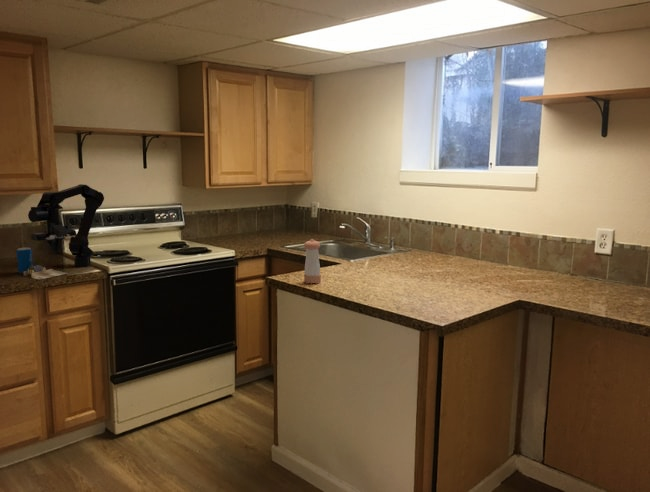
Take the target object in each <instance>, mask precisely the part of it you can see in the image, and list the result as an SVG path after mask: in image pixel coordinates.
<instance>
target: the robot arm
mask: <svg viewBox="0 0 650 492" xmlns="http://www.w3.org/2000/svg"><path fill="white" fill-rule="evenodd" d="M79 195H81V197H82V198H83V199H84V205H85V208H84V212H83V215H82V219H81V221H80V223H79V227H78V229H77V231H76V230H75V229H74V228H73V229H72V226H71V225H70V224H66V225H63V222H62V221H61V220H60V210H63V209H64V207H62V206H61V205H60V204H62V203H63V202H64V200H67V199H70V198H73V197H75V196H79ZM104 200H105V196H104V194H103V193H102V192H101V191H98V190H97V189H94V188H92V187H90V186H89V185H87V184H77V185H74V186H71V187H68V188H64V189H61V190H58V191H46V192H43V193H42V195H41V198H40V200H39V202H38V203H37V206H31V207H30V210H29V211H28V214H27V216H28V217H27V218H28V219H29V221H30V222H31V223H38V222H44V225H46V230H45V232H35V233H32V234H31V235H30V237H31V238H30V240H31V241H37V242H41V241H46V242H47V243H48V245H49V246H50V248H51V250H52V251H53V253H54V254H58V251H59V248H60V245H61V242H63V240H64V239H65V238H66V237H68V236H69V237H70V238H69V239H70V240H69V243H68V244H67V245H68V250H69V251H70V254H71V255H72V256H74V260H73V261H74V268H77V269H79V268H80V269H81V268H87V267H88V268H89V267H90V266H91V265H92V264H91V262H92V261H91V257H92V256H93V253H94V250H92V248H90V247H89V245H90V244H89V243H90V242H89V239H88V237H89V234H90V231H91V228H92V224H93V221H94V218H95V215H96V211H97V210H98V209H99V208H100V207H101V206H102V204H103V203H104Z"/></svg>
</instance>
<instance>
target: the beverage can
mask: <svg viewBox="0 0 650 492" xmlns="http://www.w3.org/2000/svg"><path fill="white" fill-rule="evenodd" d="M33 257H34V256H33V250H32V249H31V247H20V248H17V249H16V262H17V271H18V273H19V274H24V273H23V272H24V271H28V269H29V267H31V266H34V259H33Z"/></svg>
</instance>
